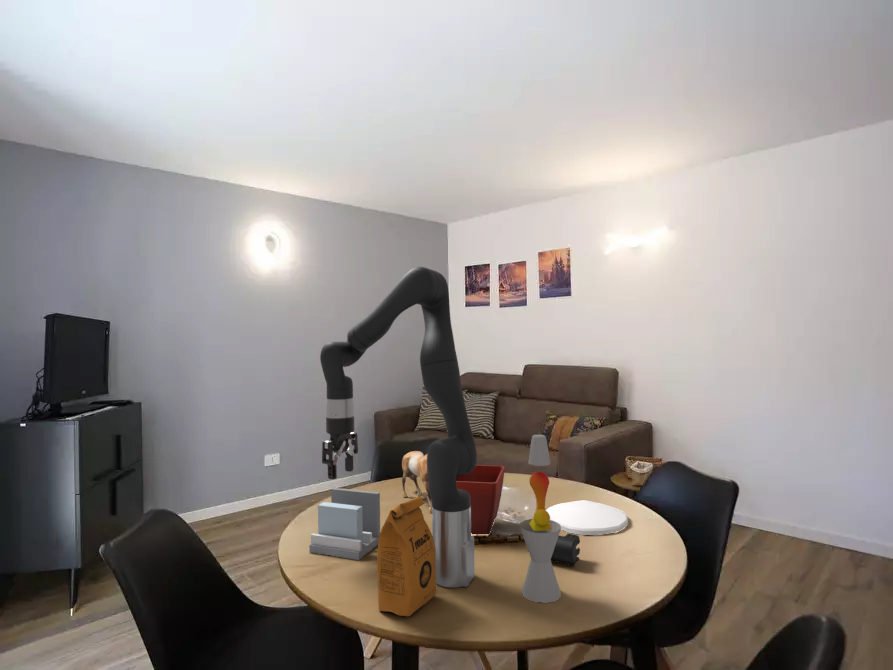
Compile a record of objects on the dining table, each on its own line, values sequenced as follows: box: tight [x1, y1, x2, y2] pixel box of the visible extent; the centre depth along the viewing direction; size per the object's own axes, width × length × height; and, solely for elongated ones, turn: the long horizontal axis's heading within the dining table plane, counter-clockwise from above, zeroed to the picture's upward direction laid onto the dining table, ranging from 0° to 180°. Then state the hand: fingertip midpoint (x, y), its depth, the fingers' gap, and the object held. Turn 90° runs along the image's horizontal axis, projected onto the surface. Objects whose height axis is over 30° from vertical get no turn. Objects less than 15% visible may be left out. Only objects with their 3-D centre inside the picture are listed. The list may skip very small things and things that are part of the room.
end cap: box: [551, 533, 581, 567], centre depth 132 cm, size 10×7×7 cm
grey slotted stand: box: [308, 487, 381, 561], centre depth 142 cm, size 15×12×14 cm
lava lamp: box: [519, 434, 562, 604], centre depth 115 cm, size 9×9×35 cm
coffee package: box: [376, 496, 437, 617], centre depth 111 cm, size 10×12×22 cm
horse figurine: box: [401, 450, 432, 514], centre depth 180 cm, size 31×8×21 cm, turn 28°
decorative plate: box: [545, 499, 629, 536], centre depth 160 cm, size 25×4×25 cm
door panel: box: [317, 501, 363, 544], centre depth 140 cm, size 12×3×10 cm, turn 69°
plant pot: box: [456, 464, 506, 534], centre depth 155 cm, size 19×19×17 cm
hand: (341, 474), depth 141 cm, fingers open, 8 cm apart
